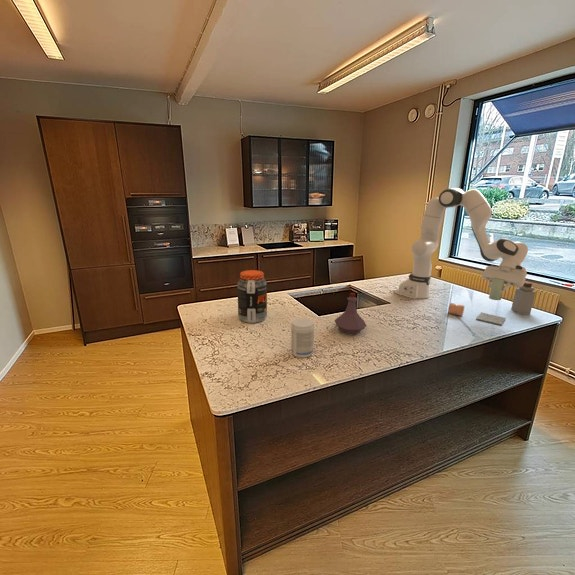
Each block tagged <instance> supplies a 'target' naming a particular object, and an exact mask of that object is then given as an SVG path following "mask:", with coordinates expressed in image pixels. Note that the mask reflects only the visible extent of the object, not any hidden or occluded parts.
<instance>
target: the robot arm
mask: <svg viewBox="0 0 575 575" xmlns="http://www.w3.org/2000/svg"><path fill="white" fill-rule="evenodd" d="M458 206H461V207H463V208H464V209H465V211H466V213H467V215H468V216H469V220H470V226H471V230H472V233H473V235H474V238H475V240H476V242H477V244H478V247H479V252H480V256H481V257H482V259H483V260H484V261H486V262H490V263H491V262H492V263H493V262H495V261H497V260H499V259H502V260H501V262H500V264H499V265H494V264H493V265H487V266H486V267H485V269H484V271H483V272H482V273H481V278H482V279H483V280H484V281H488V285H487V287H488V288H489V289H491V284H492V279H493V278H499V279H504V280H505V282H504V286H503V288H502V290H503V292H504V291H505V292H506V291H507V290H508V289H509V288H510V287H512V286H513V287H516V288H519V287H522V286H523V285H524V283H525V282H526V280H527V279H526V277H527V275H528V273H527V269H526V267H524V266H523V265H521V264H522V263H523V262H524V261H525V259H526V258H527V255H528V251H529V247H528V245H527V244H526V243H525V242H523V241H513V240H511V239H509V238H507V237H502V238H499V239H497V240H495V241H492V242H491V240H490V238H489V235H488V233H487V231H486V228H487V227H486V226H487V223H488V221H489V220H491V217H492V213H493V211H492V210H493V209H492V208H491V205H490V204H489V202H488V200H487V199H486V198H485V196H484V195H483V194H482V193H481V192H480V191H479V190H478V189H476V188H473V189H469V190H466V191H465V190H464V189H463V188H459V187H451V188H446V189H443V190H442V191H441V192H440V194H439V195H438V197H432V198H430V199H429V200H428V202H427V205H426V207H425V209H424V214H423V216H422V221H421V223H420V231H421V232H420V234H421V235H420V238H419V239H417V240H416V241H414V243H412V246H411V251H412V254H413V267H412V272H411V273H410V274H409V275H408V279H406V280H404V281H402V282H401V283H400V284H399V285H398V288H396V289H395V290H394V293H395V294H397V295H400V296H403V297H407V298H410V299H413V300H415V299H416V300H417V299H423V300H424V299H428V298H430V295H431V294H430V285H431V281H432V279H431V273H432V266H433V264H432V257H431V256H432V253H434V252H435V251H436V250H437V249H438V247H439V239H440V238H439V236H440V229H441V225H442V221H443V218H444V214H445V211H446V209H447V208H456V207H458Z"/></svg>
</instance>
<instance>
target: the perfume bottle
mask: <svg viewBox="0 0 575 575" xmlns="http://www.w3.org/2000/svg"><path fill="white" fill-rule="evenodd" d="M536 293H537V292H536V291H535V287H533V283H532V282H530V281H525V283H524V285H523V286H522V287H516V288H515V291H514V296H513V299H512V302H511V303H512V304H511V308H510V309H511V310H512V311H513V312H515V313H517V314H519V315H520V314H521V315H522V314H523V315H525V314H526V315H530V314H531V311H532V308H533V305H534V301H535V297H536Z"/></svg>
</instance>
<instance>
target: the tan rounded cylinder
mask: <svg viewBox="0 0 575 575" xmlns="http://www.w3.org/2000/svg"><path fill="white" fill-rule="evenodd" d="M447 312H448V314H452V315H455V316H459V317H460V316H461V317H462V316H463V315H464V312H465V305H461V304H457V303H452V302H451V303H449V306H448V310H447Z"/></svg>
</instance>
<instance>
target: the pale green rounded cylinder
mask: <svg viewBox="0 0 575 575" xmlns="http://www.w3.org/2000/svg"><path fill="white" fill-rule="evenodd" d="M504 282H505V280H504V279H499V278H493V279H492V283H491V288H489V295H488V299H490V300H492V301H501V300H502V295H503V292H504V290H502V288H503V286H505V284H504Z"/></svg>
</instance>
